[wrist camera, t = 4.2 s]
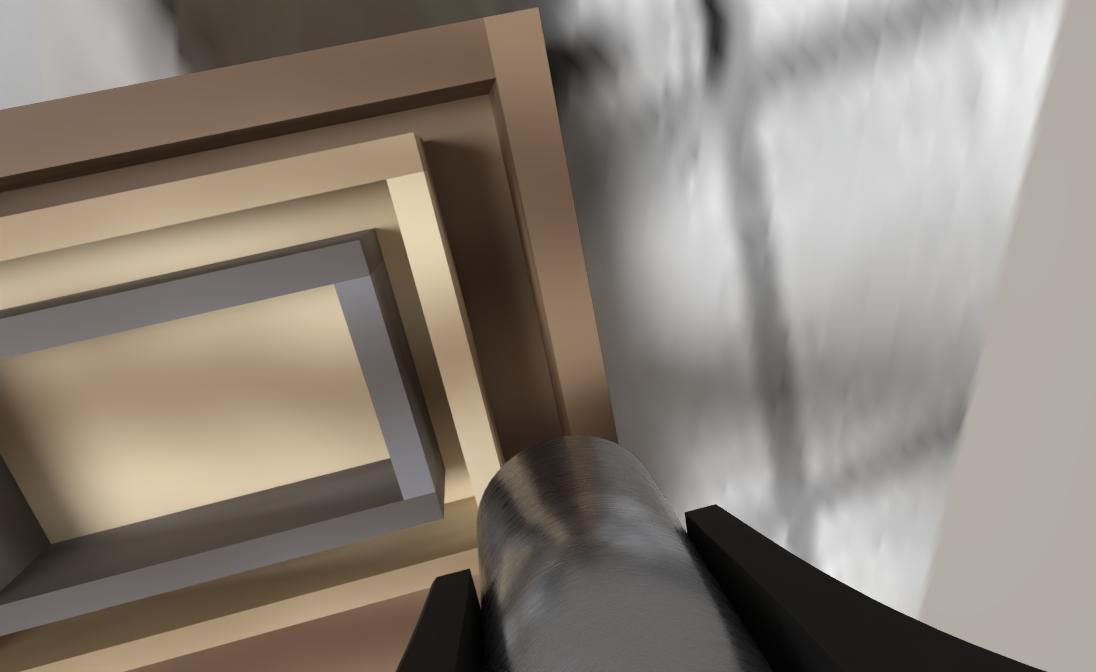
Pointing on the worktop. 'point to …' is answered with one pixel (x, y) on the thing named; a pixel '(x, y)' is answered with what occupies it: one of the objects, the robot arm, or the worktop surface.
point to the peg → (597, 571)
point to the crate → (233, 408)
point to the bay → (466, 205)
